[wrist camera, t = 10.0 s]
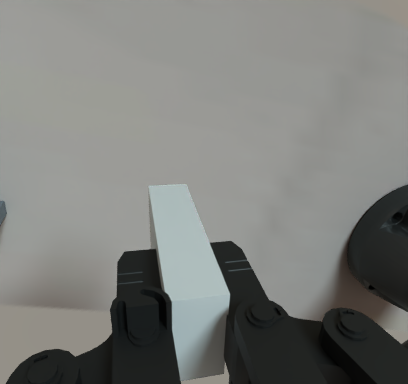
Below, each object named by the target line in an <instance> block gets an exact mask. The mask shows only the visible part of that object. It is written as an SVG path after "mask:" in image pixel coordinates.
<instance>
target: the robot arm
mask: <svg viewBox="0 0 408 384" xmlns="http://www.w3.org/2000/svg"><path fill="white" fill-rule="evenodd" d="M148 190H149V215H150V240H151V249H149V250H138V251H127V252H124V253H123V255H122V256H121V258H120V259H119V261H118V266H117V297H116V298H115V299H114V301H113V302H112V305H111V309H110V313H111V322H112V334H111V335H110V336H109V338H108V339H107V340H106V341H105V342H103V343H102V344H101V345H99V346H98V347H96V348H94V349H92V350H90V351H88V352H86V353H83V354H81V355H79V356H76V357H75V356H73V355H72V354H71V353H70V352H69V351H64V350H60V349H53V350H45V351H42V352H40V353H37V354H35V355H32V356H31V357H29V358H28V359H26V360H25V361H24V362H22V363H21V364H20V365H19V366H18V367H17V368H16V369H15V371H14V372H13V373H12V374H11V376H10V377H9V379H8V381H7V382H6V384H181V381H184V380H190V379H196V378H202V377H208V376H214V375H220V374H224V365H225V363H226V366H227V369H228V372H229V384H408V340H407V341H405V342H404V343H403V344H400V343H399V342H398V341H397V340H396V339H394V338H393V337H392V336H391V335H390V334H388V333H387V332H386V331H385V330H384V329H383V328H381V327H380V326H379V325H378V324H377V323H375V322H374V321H373V320H372V319H370V318H369V317H367V316H366V315H364V314H363V313H360V312H358V311H355V310H352V309H347V308H336V309H331V310H330V311H328V312H327V313H326V314H325V316H324V318H323V322H319V321H311V320H304V319H298V318H293V317H291V316H289V315H288V314H287V312H286V311H285V310H284V309H283V308H282V307H281V306H280V305H278V304H276V303H275V302H273V301H270V300H269V299H268V297H267V296H266V294H265V292H264V290H263V288H262V286H261V284H260V282H259V281H258V279H257V277H256V275H255V273H254V271H253V269H251V266H250V264H249V262H248V261H247V258H246V256H245V254H244V253H243V251H242V249H241V248H240V247H238V246H237V245H236V244H234V243H233V242H232V241H225V242H214V243H209V240H208V238H207V235H206V233H205V230H204V228H203V225H202V223H201V220H200V218H199V215H198V213H197V210H196V208H195V205H194V203H193V200H192V198H191V195H190V193H189V190H188V188H187V185H186V184H175V185H156V186H148ZM347 258H348V265H349V268H350V270H351V272H352V274H353V275H354V276H355V277H356V279H357V280H358V281H359V282H360V283H361V284H362V285H363V286H364V287H365V288H366V289H367V290H369V291H370V292H371V293H373V294H375V295H377V296H379V297H381V298H383V299H384V300H386V301H388V302H390V303H392V304H393V305H395V306H397V307H399V308H401V309H403V310H405V311H406V312H408V185H406V186H403V187H401V188H399V189H396V190H395V191H393V192H391V193H389V194H388V195H386V196H385V197H383V198H382V199H381V200H379V201H378V202H377V203H376V204H375V205H374V206H373V207H372V208H371V209H370V210H369V211H368V212H367V213H366V214H365V215H364V217H363V218H362V219H361V221H360V222H359V223H358V225H357V227H356V229H355V230H354V232H353V235H352V237H351V240H350V243H349V247H348V254H347Z"/></svg>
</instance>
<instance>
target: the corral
mask: <svg viewBox="0 0 408 384" xmlns="http://www.w3.org/2000/svg"><path fill="white" fill-rule="evenodd" d="M6 214H7V212H6V207H5V203H4V201H0V225H1V223H2V221H3V219H4V218H5V216H6Z"/></svg>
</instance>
